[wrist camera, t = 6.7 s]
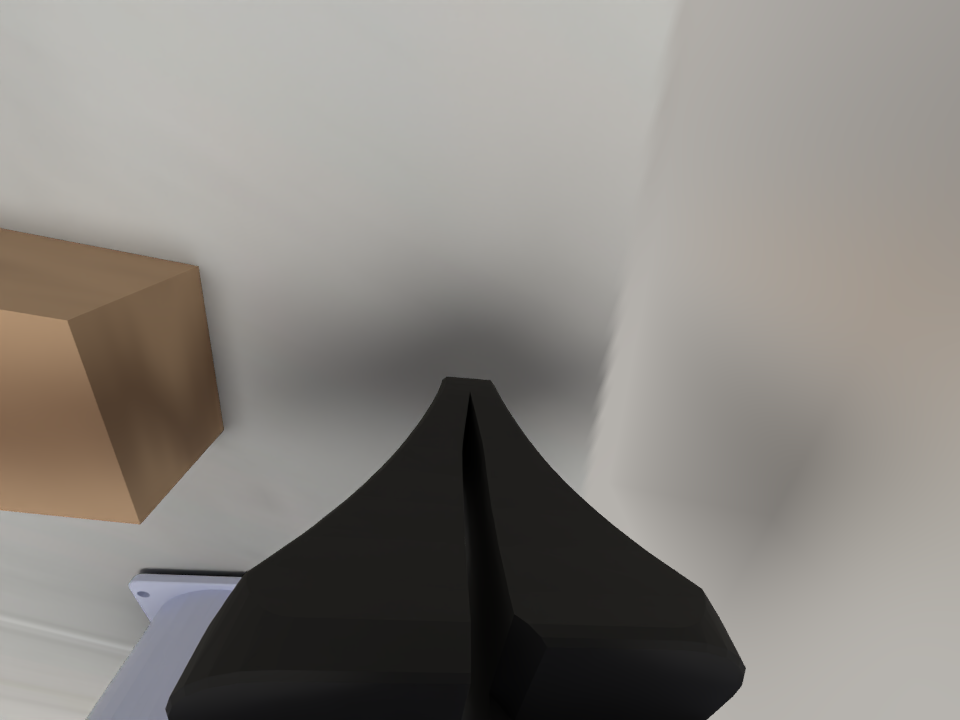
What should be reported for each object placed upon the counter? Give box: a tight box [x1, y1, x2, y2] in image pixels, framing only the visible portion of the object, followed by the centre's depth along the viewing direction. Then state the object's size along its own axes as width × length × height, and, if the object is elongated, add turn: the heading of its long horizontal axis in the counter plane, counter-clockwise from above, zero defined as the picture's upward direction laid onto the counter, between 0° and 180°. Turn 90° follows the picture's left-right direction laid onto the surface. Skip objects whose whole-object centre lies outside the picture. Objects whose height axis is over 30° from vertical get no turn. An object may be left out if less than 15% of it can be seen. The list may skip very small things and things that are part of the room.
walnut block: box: [0, 228, 224, 524], centre depth 10 cm, size 6×6×4 cm
